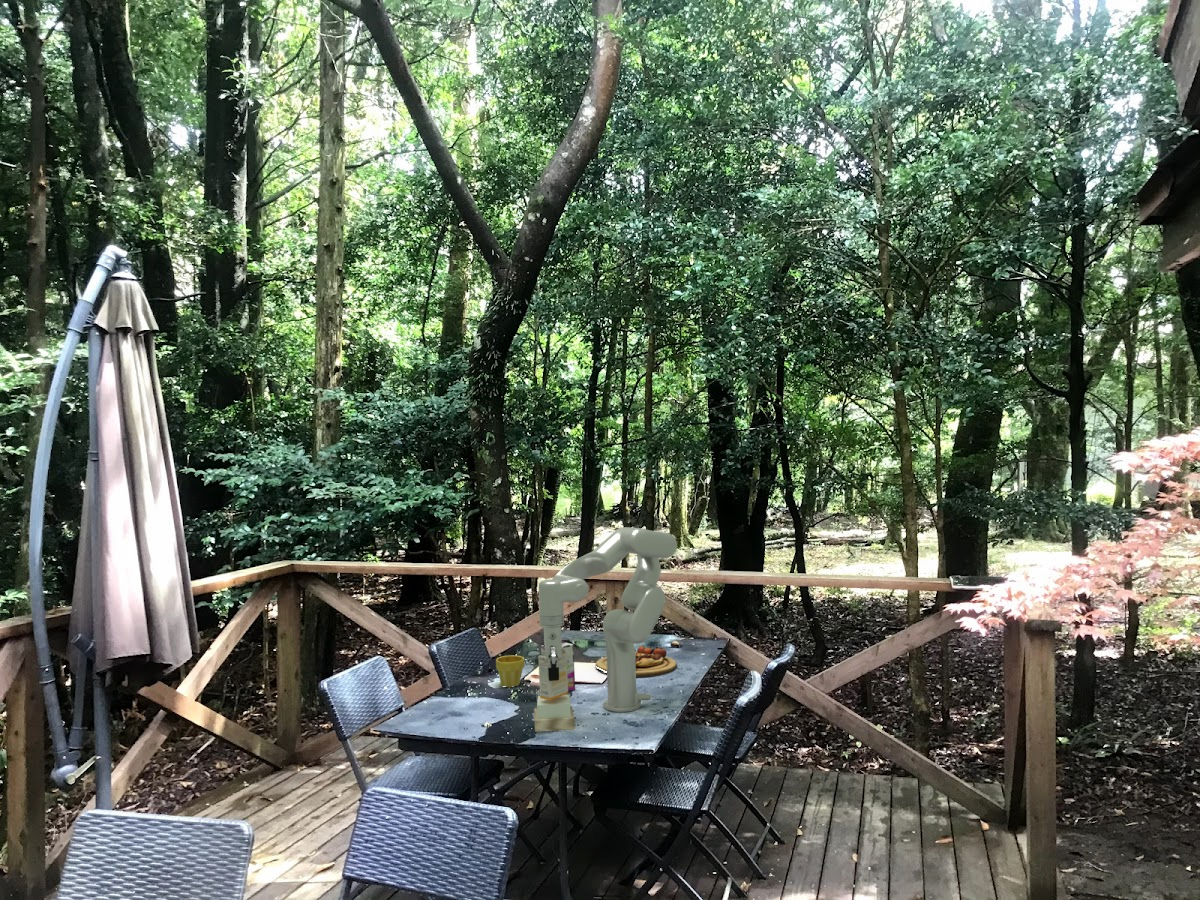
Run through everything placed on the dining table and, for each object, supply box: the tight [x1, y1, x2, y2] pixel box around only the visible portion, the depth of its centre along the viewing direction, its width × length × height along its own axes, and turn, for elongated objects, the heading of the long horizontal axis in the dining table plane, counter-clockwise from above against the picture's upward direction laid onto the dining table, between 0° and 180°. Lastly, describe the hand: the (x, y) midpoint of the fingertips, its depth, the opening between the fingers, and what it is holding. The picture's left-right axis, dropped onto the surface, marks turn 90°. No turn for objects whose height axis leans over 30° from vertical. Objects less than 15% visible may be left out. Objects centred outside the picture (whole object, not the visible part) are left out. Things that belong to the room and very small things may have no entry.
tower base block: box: [533, 705, 576, 733], centre depth 239 cm, size 12×12×4 cm
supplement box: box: [537, 651, 569, 700], centre depth 239 cm, size 8×5×13 cm, turn 141°
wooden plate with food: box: [595, 644, 678, 678], centre depth 305 cm, size 32×32×8 cm
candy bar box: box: [540, 642, 576, 693], centre depth 273 cm, size 11×5×16 cm, turn 130°
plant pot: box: [495, 654, 525, 687], centre depth 283 cm, size 10×10×10 cm
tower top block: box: [536, 694, 571, 719], centre depth 239 cm, size 10×10×4 cm
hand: (553, 676), depth 239 cm, fingers closed on supplement box, 9 cm apart
